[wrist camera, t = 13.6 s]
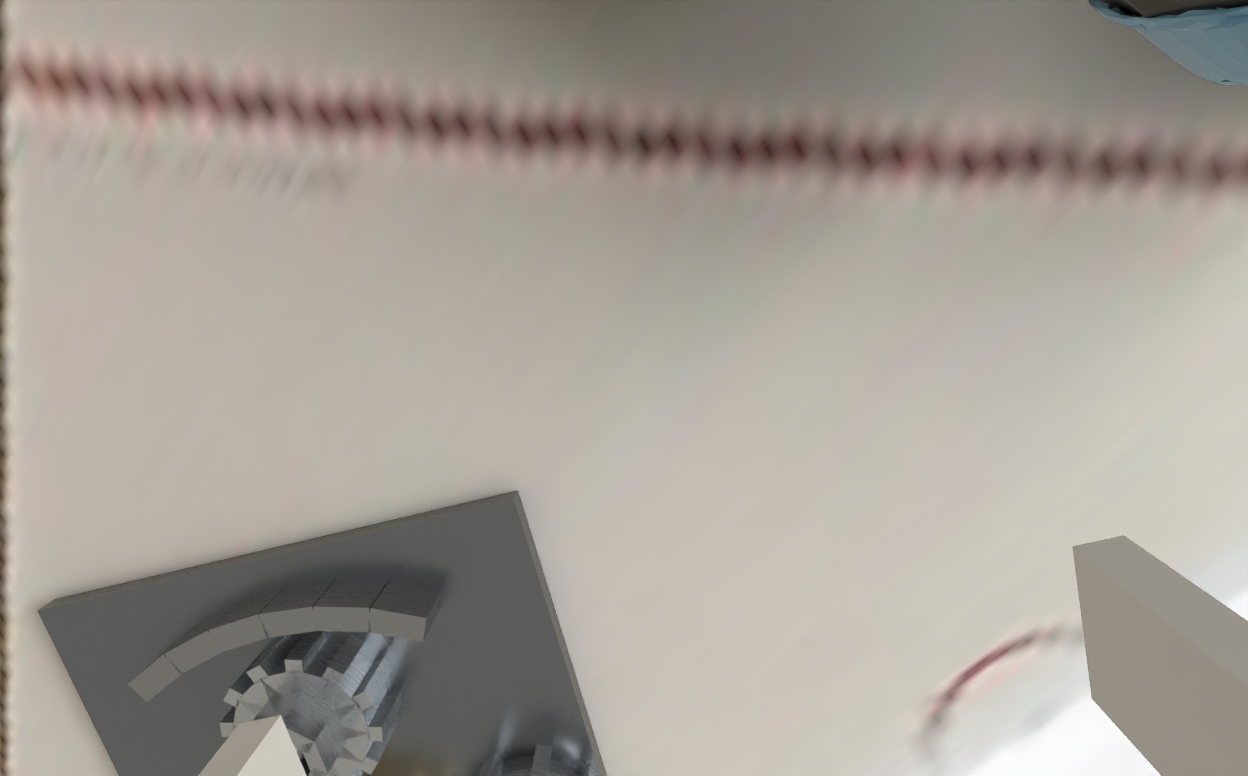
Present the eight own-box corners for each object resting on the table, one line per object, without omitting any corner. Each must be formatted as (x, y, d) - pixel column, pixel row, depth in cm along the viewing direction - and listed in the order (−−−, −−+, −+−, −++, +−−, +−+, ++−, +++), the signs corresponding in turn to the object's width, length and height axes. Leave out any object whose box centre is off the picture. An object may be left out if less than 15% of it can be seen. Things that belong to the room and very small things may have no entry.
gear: (227, 645, 41) (165, 711, 36) (371, 613, 41) (329, 675, 35) (282, 772, 43) (230, 851, 38) (420, 743, 42) (387, 820, 37)
